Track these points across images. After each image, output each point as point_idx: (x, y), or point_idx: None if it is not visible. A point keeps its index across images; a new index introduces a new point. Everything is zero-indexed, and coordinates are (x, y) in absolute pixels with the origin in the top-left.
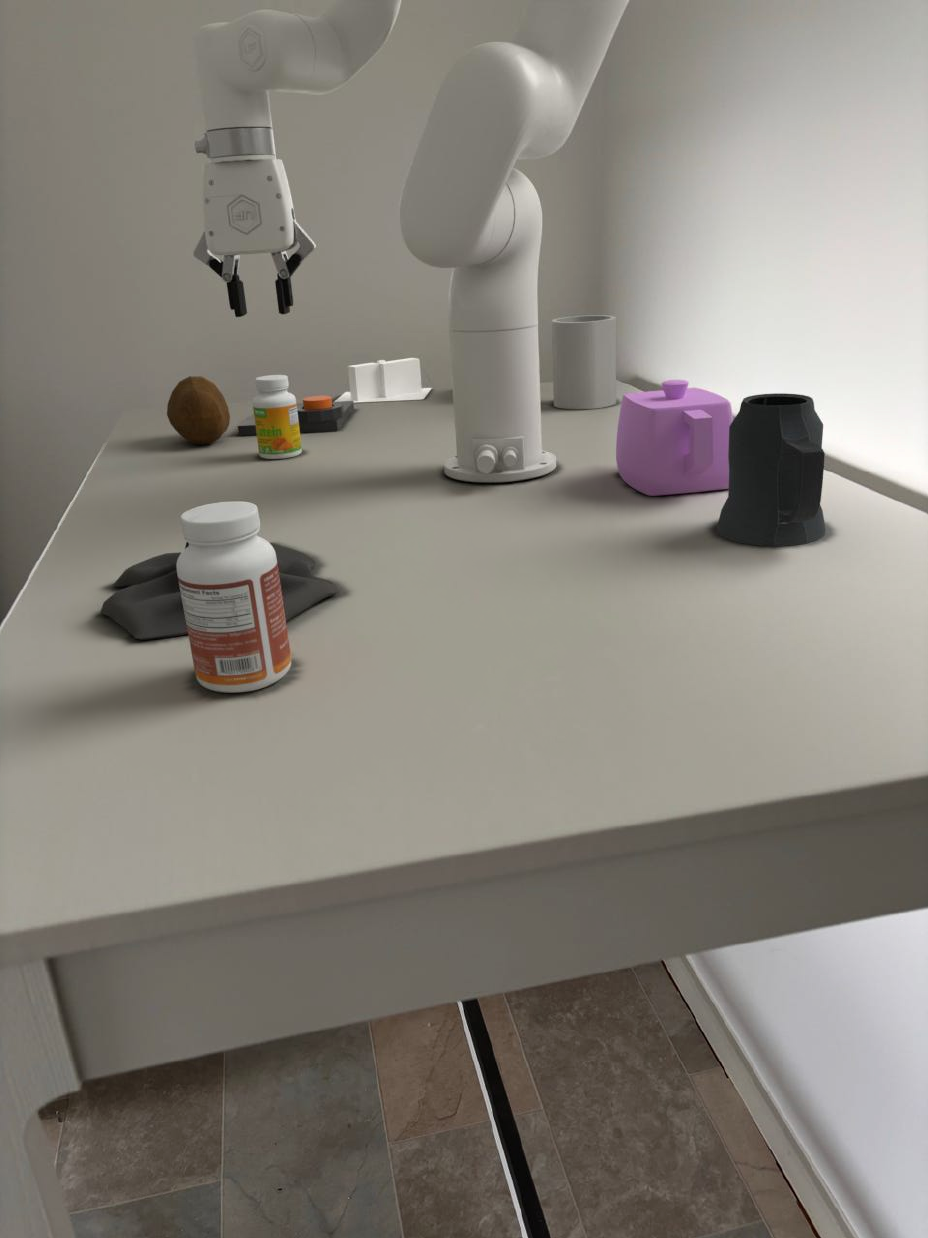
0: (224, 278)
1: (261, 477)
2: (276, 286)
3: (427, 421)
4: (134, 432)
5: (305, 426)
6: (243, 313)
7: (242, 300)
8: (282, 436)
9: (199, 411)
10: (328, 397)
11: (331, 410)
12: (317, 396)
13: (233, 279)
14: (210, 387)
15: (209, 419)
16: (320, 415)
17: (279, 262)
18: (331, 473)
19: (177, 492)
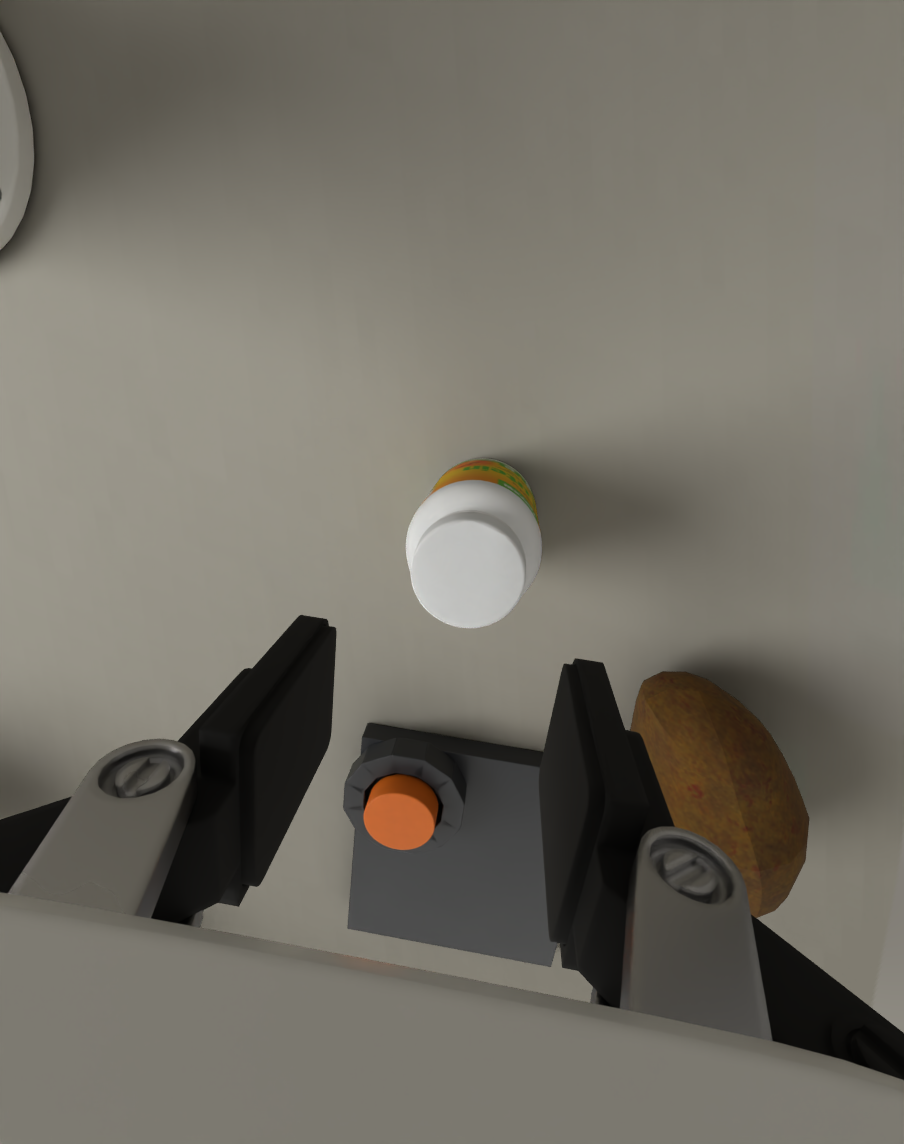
0: (713, 872)
1: (516, 252)
2: (268, 711)
3: (177, 737)
4: (857, 899)
5: (438, 743)
6: (553, 711)
7: (556, 777)
8: (463, 467)
9: (711, 708)
10: (369, 817)
11: (366, 759)
12: (399, 842)
13: (624, 864)
14: (687, 816)
15: (678, 686)
16: (394, 746)
17: (98, 859)
18: (332, 237)
19: (749, 124)
